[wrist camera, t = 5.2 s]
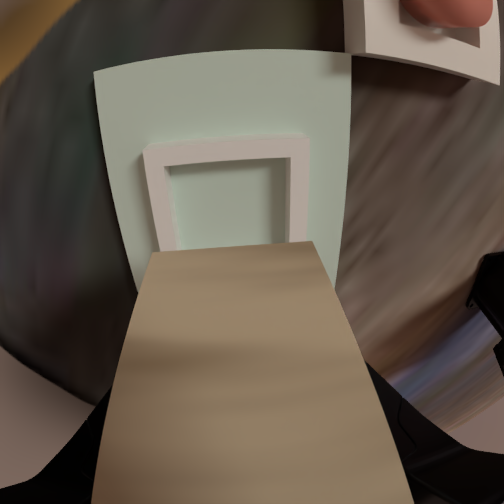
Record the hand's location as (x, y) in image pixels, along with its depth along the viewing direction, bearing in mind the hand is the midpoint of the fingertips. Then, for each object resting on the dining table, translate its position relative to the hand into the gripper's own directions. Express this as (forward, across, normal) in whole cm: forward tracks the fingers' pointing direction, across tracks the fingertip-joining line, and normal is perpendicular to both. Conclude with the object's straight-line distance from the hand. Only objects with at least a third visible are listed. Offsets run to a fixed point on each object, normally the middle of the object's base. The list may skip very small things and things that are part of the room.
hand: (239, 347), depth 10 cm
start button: (+10, -12, -14) cm, 21 cm away
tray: (+12, 0, 0) cm, 12 cm away
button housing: (+12, -12, -14) cm, 22 cm away
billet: (+2, 0, 0) cm, 2 cm away
